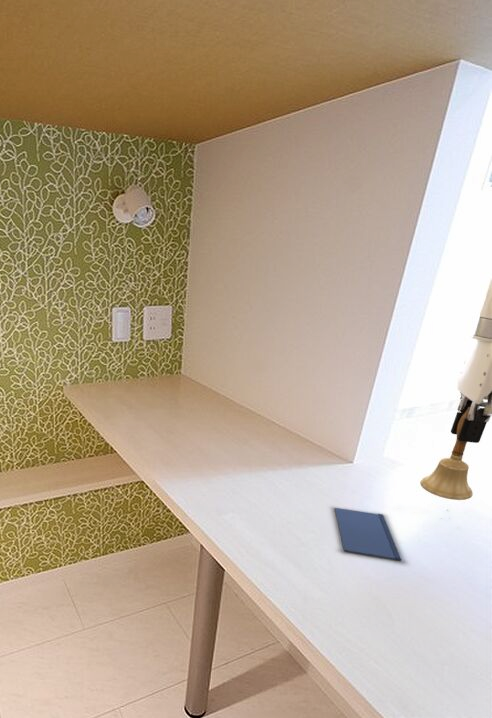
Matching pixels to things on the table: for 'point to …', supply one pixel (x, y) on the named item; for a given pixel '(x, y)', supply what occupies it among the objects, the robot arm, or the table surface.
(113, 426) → the table surface
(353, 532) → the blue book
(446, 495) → the hand bell
